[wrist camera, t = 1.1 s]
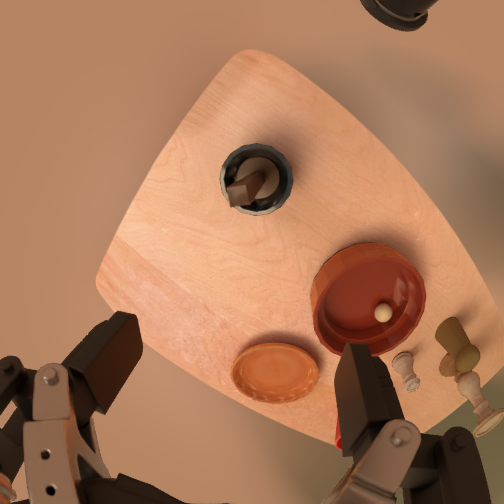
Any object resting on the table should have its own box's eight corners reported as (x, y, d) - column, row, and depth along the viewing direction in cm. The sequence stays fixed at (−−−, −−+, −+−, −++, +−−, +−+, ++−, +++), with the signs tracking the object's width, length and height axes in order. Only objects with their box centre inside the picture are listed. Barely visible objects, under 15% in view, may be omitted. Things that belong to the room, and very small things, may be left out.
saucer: (327, 382, 47) (328, 393, 45) (254, 399, 51) (252, 410, 49) (302, 323, 43) (303, 334, 40) (218, 347, 47) (214, 358, 44)
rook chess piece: (390, 356, 44) (402, 385, 36) (411, 348, 43) (425, 375, 35) (391, 370, 45) (402, 398, 38) (411, 363, 44) (423, 390, 37)
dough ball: (372, 301, 40) (377, 311, 37) (389, 298, 39) (395, 308, 36) (371, 316, 41) (376, 327, 38) (388, 313, 40) (393, 324, 37)
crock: (228, 152, 35) (213, 151, 28) (285, 142, 34) (286, 138, 26) (238, 206, 38) (227, 220, 30) (294, 198, 36) (297, 209, 29)
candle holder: (472, 339, 41) (514, 401, 22) (465, 365, 44) (499, 426, 25) (441, 352, 43) (479, 423, 24) (436, 378, 45) (465, 445, 27)
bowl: (305, 249, 39) (308, 265, 33) (413, 234, 36) (430, 248, 30) (313, 342, 44) (316, 365, 39) (405, 326, 41) (417, 347, 36)
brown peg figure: (458, 334, 41) (481, 368, 31) (434, 346, 42) (456, 382, 32) (459, 312, 39) (487, 345, 29) (435, 324, 41) (460, 360, 30)
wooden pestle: (239, 160, 35) (195, 166, 17) (276, 153, 34) (269, 151, 16) (246, 195, 36) (210, 237, 19) (283, 190, 36) (282, 226, 18)
